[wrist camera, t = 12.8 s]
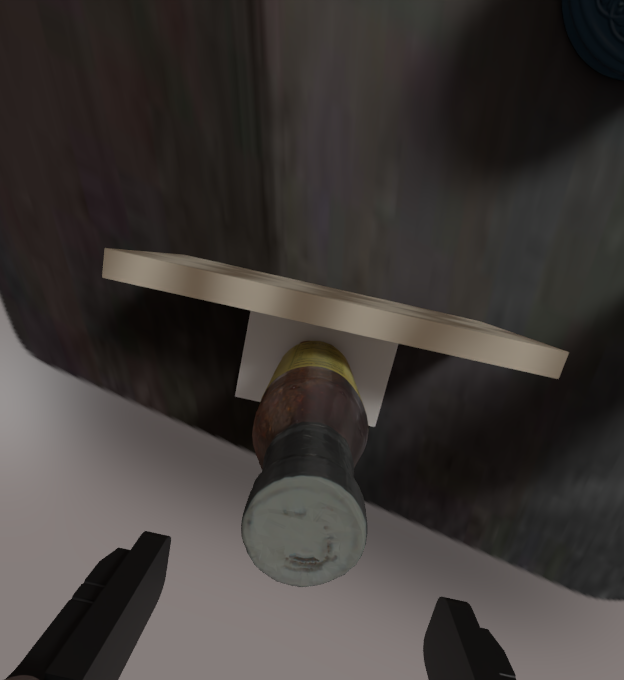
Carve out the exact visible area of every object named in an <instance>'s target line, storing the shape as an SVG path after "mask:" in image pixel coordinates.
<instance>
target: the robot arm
mask: <svg viewBox="0 0 624 680" xmlns="http://www.w3.org/2000/svg"><path fill="white" fill-rule="evenodd" d="M170 544H171V537H170V536H166V535H161V534H157V533H152V532H147V531H145V532H143V533H142V535H141V536H140V538H139V539H138V540H137V542H136V543H135V544H134V546H133V547H132V549H131V550H127V549H122V548H117V549H116V550H115V551H113V552H112V553H111V554H109V555H108V556H106V557H105V558H104V559H102V560H101V561H99V563H98V564H97V565H96V566H95V568H94V569H93V571H92V572H91V573H90V574H89V575H88V577H87V578H86V579H85V582H84V583H83V584H81V586H80V587H79V588H78V590H77V591H76V592H75V593H74V595H73V597H72V599H71V600H69V601H68V603H67V604H66V605H65V606H64V608H63V609H62V610H61V612H60V613H59V614H58V615H57V617H56V618H55V619H54V621H53V622H52V623H51V624H50V626H49V627H48V628H47V630H46V631H45V632H44V633H43V635H42V636H41V637H40V639H39V640H38V641H37V642H36V644H35V645H34V646H33V648H32V649H31V650H30V651H29V653H28V654H27V655H26V657H25V658H24V659H23V661H22V662H21V663H20V664H19V665H18V667H17V668H16V669H15V670H14V671H13V672H12V673H11V674H10V675H9V676H8V677H7V678H6V679H5V680H118V679H119V677H120V675H121V673H122V671H123V669H124V667H125V665H126V663H127V661H128V659H129V657H130V655H131V653H132V651H133V649H134V647H135V645H136V643H137V641H138V639H139V637H140V635H141V634H142V632H143V630H144V627H145V626H146V624H147V622H148V620H149V618H150V616H151V614H152V612H153V610H154V608H155V606H156V604H157V602H158V600H159V597H160V594H161V592H162V589H163V585H164V582H165V577H166V570H167V564H168V557H169V550H170ZM423 652H424V662H425V666H426V671H427V675H428V679H429V680H516V678H515V673H514V671H513V669H512V667H511V665H510V663H509V660H508V658H507V656H506V654H505V652H504V650H503V649H502V647H501V646H500V645H499V643H498V642H497V641H496V640H495V638H494V637H493V636H492V634H491V633H490V632H489V630H488V629H484V628H480V626H479V624H478V622H477V619H476V617H475V614H474V612H473V610H472V608H471V606H470V605H469V604H468V603H467V602H464V601H459V600H455V599H450V598H445V597H440V598H439V599H438V601H437V603H436V606H435V609H434V611H433V614H432V617H431V620H430V623H429V625H428V628H427V631H426V634H425V638H424V646H423Z"/></svg>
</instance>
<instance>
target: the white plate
mask: <svg viewBox="0 0 624 680" xmlns="http://www.w3.org/2000/svg"><path fill="white" fill-rule="evenodd" d="M303 341H322V342H325V343H328V344H331V345H333V346H334V347H335V348H336V349H338V350H339V351H340V352H341V353H342V354H343V355H344V356H345V358H346V359H347V361H348V363H349V366H350V369H351V371H352V374H353V377H354V380H355V383H356V386H357V388H358V391H359V394H360V397H361V399H362V402H363V405H364V408H365V411H366V414H367V420H368V426H373V427H375V425H376V422H377V418H378V415H379V411H380V408H381V404H382V400H383V397H384V393H385V390H386V386H387V383H388V379H389V376H390V372H391V369H392V365H393V361H394V358H395V354H396V351H397V347H398V343H394V342H389V341H385V340H380V339H376V338H371V337H367V336H363V335H358V334H354V333H349V332H345V331H340V330H336V329H331V328H327V327H322V326H318V325H313V324H309V323H304V322H300V321H295V320H291V319H286V318H282V317H277V316H273V315H268V314H264V313H259V312H255V311H250V316H249V322H248V327H247V333H246V338H245V344H244V349H243V355H242V360H241V366H240V371H239V377H238V382H237V387H236V393H235V397H240V398H244V399H249V400H253V401H258V402H260V401H261V399H262V396H263V394H264V392H265V390H266V388H267V386H268V384H269V382H270V380H271V378H272V376H273V374H274V372H275V370H276V368H277V366H278V365H279V363H280V362H281V360H282V357H283V356H284V355H285V354H286V353H287V352H288V351H289V350H290V349H291V348H293V347H294V346H296V345H298V344H300V343H301V342H303Z"/></svg>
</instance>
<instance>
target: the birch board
mask: <svg viewBox="0 0 624 680" xmlns="http://www.w3.org/2000/svg"><path fill="white" fill-rule="evenodd" d="M102 278H107V279H111V280H116V281H120V282H125V283H129V284H134V285H138V286H143V287H147V288H151V289H156V290H160V291H165V292H169V293H174V294H178V295H183V296H187V297H192V298H196V299H201V300H205V301H210V302H214V303H219V304H223V305H228V306H232V307H237V308H241V309H246V310H250V311H255V312H259V313H264V314H268V315H273V316H277V317H282V318H286V319H291V320H295V321H300V322H304V323H309V324H313V325H318V326H322V327H327V328H331V329H336V330H340V331H345V332H349V333H354V334H358V335H363V336H367V337H371V338H376V339H380V340H385V341H389V342H394V343H398V344H403V345H407V346H412V347H416V348H421V349H425V350H430V351H434V352H439V353H443V354H448V355H452V356H457V357H461V358H466V359H470V360H475V361H479V362H484V363H488V364H493V365H497V366H502V367H506V368H511V369H515V370H520V371H524V372H529V373H533V374H538V375H542V376H547V377H551V378H556V379H559V377H560V374H561V372H562V369H563V367H564V364H565V362H566V359H567V357H568V354H569V352H567V351H564V350H561V349H558V348H556V347H553V346H550V345H547V344H544V343H541V342H538V341H535V340H532V339H530V338H527V337H524V336H521V335H518V334H515V333H512V332H509V331H507V330H504V329H501V328H498V327H495V326H492V325H489V324H486V323H483V322H481V321H476V320H472V319H468V318H463V317H459V316H454V315H450V314H445V313H441V312H436V311H432V310H428V309H423V308H419V307H414V306H410V305H405V304H401V303H396V302H392V301H387V300H383V299H379V298H374V297H370V296H365V295H361V294H356V293H352V292H347V291H343V290H339V289H334V288H330V287H325V286H321V285H316V284H312V283H307V282H303V281H299V280H294V279H290V278H285V277H281V276H276V275H272V274H267V273H263V272H258V271H254V270H250V269H245V268H241V267H236V266H232V265H227V264H223V263H218V262H214V261H210V260H205V259H201V258H196V257H192V256H187V255H180V254H168V253H156V252H145V251H133V250H121V249H109V248H105V251H104V262H103V274H102Z"/></svg>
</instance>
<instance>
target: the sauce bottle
mask: <svg viewBox="0 0 624 680" xmlns="http://www.w3.org/2000/svg"><path fill="white" fill-rule="evenodd" d="M252 438H253V446H254V449H255V452H256V455H257V458H258V460H259V464H260V465H261V468H262V473H261V474H260V475H259V476H258V478H257V479H256V480H255V482H254V485H253V488H252V490H251V492H250V495H249V498H248V501H247V504H246V506H245V510H244V513H243V517H242V525H241V526H242V527H241V531H242V539H243V543H244V545H245V547H246V550H247V553H248V554H249V556H250V558H251V559H252V561H253V563H254V564H255V565H256V566H257V567H258V568H259V569H260V570H261V571H262V572H263V573H265V574H266V575H268V576H270V577H271V578H272V579H274V580H276V581H278V582H281V583H284V584H288V585H292V586H298V587H307V586H315V585H320V584H323V583H326V582H329V581H331V580H334V579H335V578H337V577H340V576H342V575H345V573H347V572H348V571H349V570H350V569H351V568H352V567H354V566H355V564H356V563H357V562H358V560H359V559H360V557H361V556H362V553H363V550H364V547H365V544H366V537H367V519H366V509H365V504H364V498H363V495H362V493H361V491H360V488H359V486H358V484H357V482H356V481H355V479H354V468H355V466H356V464H357V462H358V460H359V459H360V457H361V455H362V453H363V451H364V449H365V447H366V444H367V439H368V420H367V414H366V411H365V408H364V405H363V402H362V399H361V397H360V394H359V391H358V388H357V386H356V383H355V380H354V377H353V374H352V371H351V369H350V366H349V363H348V361H347V359H346V358H345V356H344V355H343V354H342V353H341V352H340V351H339V350H338V349H336V348H335V347H334V346H333V345H331V344H328V343H325V342H322V341H303V342H301V343H300V344H298V345H296V346H294V347H293V348H291V349H290V350H289V351H288V352H287V353H286V354H285V355H284V356H283V357H282V360H281V362H280V363H279V365H278V366H277V368H276V370H275V372H274V374H273V376H272V378H271V380H270V382H269V384H268V386H267V388H266V390H265V392H264V394H263V396H262V399H261V401H260V405H259V408H258V410H257V412H256V416H255V419H254V425H253V432H252Z"/></svg>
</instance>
